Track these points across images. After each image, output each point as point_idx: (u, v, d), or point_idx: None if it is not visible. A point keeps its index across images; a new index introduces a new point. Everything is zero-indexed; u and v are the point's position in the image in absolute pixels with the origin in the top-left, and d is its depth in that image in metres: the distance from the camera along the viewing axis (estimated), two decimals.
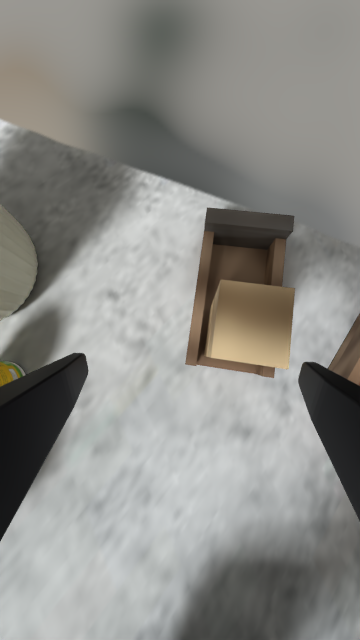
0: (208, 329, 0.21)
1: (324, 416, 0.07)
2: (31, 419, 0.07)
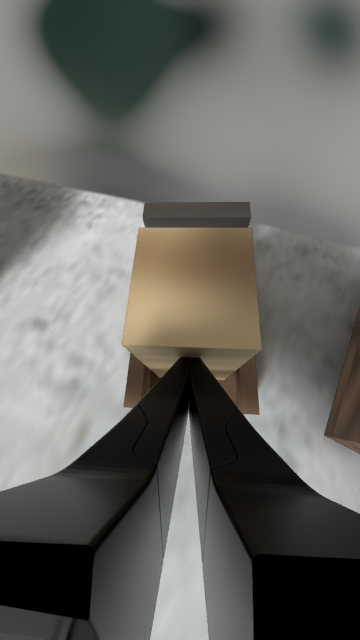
0: None
1: (190, 409, 0.08)
2: (179, 428, 0.06)
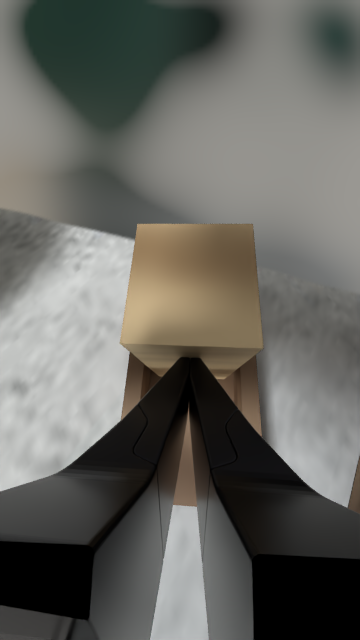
0: None
1: (190, 409, 0.08)
2: (179, 428, 0.06)
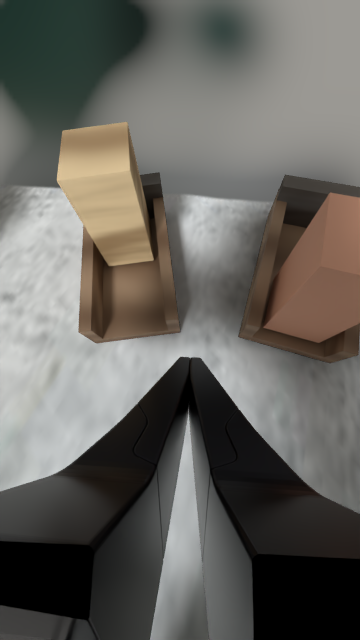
0: None
1: (190, 409, 0.08)
2: (179, 428, 0.06)
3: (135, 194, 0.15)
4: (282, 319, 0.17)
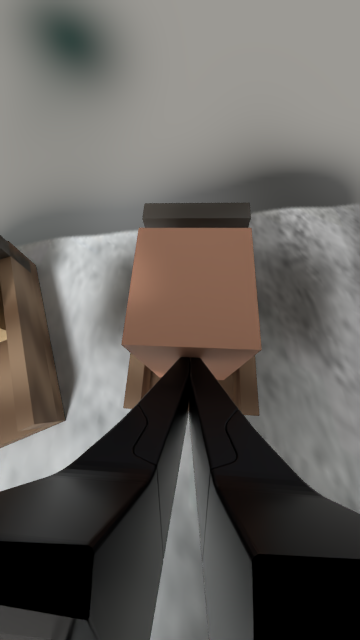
0: None
1: (190, 409, 0.08)
2: (179, 428, 0.06)
3: None
4: None
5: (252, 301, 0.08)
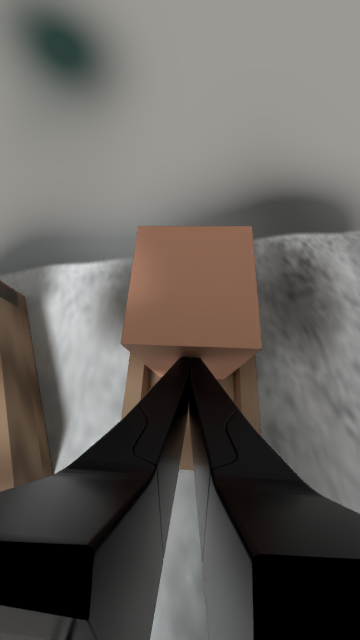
0: None
1: (190, 409, 0.08)
2: (179, 428, 0.06)
3: None
4: (165, 372, 0.14)
5: (253, 300, 0.08)
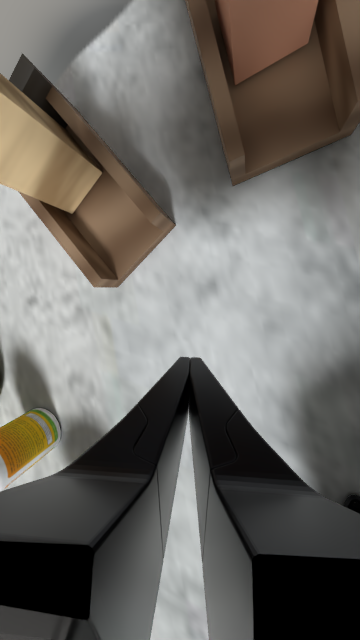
0: None
1: (190, 409, 0.08)
2: (179, 428, 0.06)
3: (14, 105, 0.12)
4: (245, 41, 0.13)
5: None
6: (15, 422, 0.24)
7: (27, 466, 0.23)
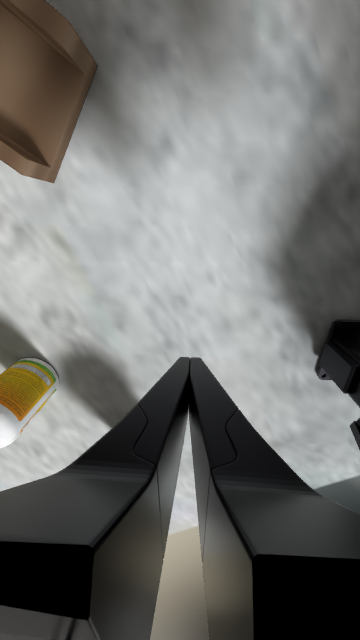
0: None
1: (190, 409, 0.08)
2: (179, 428, 0.06)
3: None
4: None
5: None
6: (2, 375, 0.22)
7: (35, 408, 0.22)
